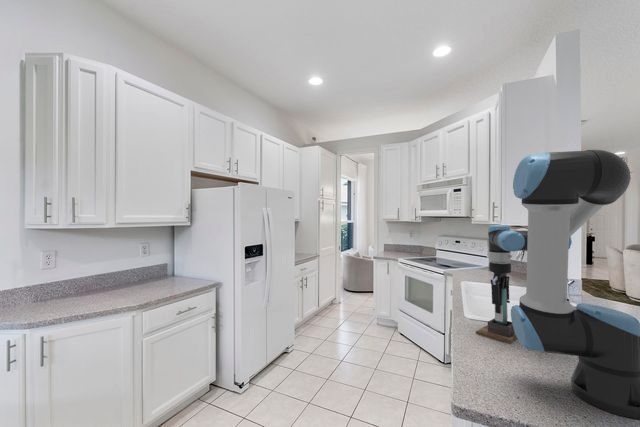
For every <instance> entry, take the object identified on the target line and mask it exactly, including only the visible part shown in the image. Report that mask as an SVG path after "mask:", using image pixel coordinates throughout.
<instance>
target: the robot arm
mask: <svg viewBox="0 0 640 427" xmlns="http://www.w3.org/2000/svg"><path fill="white" fill-rule="evenodd" d="M630 183H631V171H630V168H629V165H628V164H627V163H626V161H625V160H624V159H623V158H622V157H620V156H619V155H617V154H615V153H613V152H610V151H608V150H602V149H587V150H574V151H573V150H570V151H553V152H551V151H550V152H541V153H535V154H534V153H533V154H528V155H526V156H525V157H523V158H522V159H521V160H520V162H519V163H518V165H517V166H516V169H515V172H514V176H513V181H512V190H513V195H514V196H515V197H516V198H518V199H520V200H521V205H522V206H523V207H524V208H526V209H527V211H528V212H527V214H528V215H527V230H511V227H510V226H509V225H508V224H503V225H502V224H492V225H491V224H490V225H489V226H488V232H487V235H488V237H487V238H488V261H489V264H488V266H489V268H488V270H489V271H490V272H492V273H493V277H492V279H490V285H491V304H492V305H494V318H495V320H496V321H500V322H503V305H502V289H503V288H504V289H506V296H507V304H510V276H508V275H507V274H510V273H512V264H511V260H512V259H511V258H512V257H513V255H512V254H511V252H519V251H520V252H522V251H523V252H526V254H527V255H526V285H525V286H526V290H525V294H523V295H521V296H520V297H519V302H518V303H519V305H518V304H515V305H512V306H511V309H510V319H511V322H512V325H513V328H514V331H515V334H516V336H517V340H518V342H519V343H520V345H521V346H522V347H523V348H524V349H526V350H529V351H532V352H533V351H534V352H539V353H542V354H545V353H548V354H555V355H556V354H558V355H567V356H576V357H578V360H577V361H578V362H577V364H576V367H575V369H574V372H572V376H571V377H570V388H571V391H572V392H573V393H574V394H575V395H576V396H577V397H579V399H582V400H583V401H584V402H587V403H588V404H590V405H591V406H594V407H596V408H598V409H601V410H603V411H606V412H608V413H612V414H614V415H618V416H622V417H626V418H631V419H636V418H640V321H639V320H638V319H637V317H635V316H633V315H631V314H629V313H626V312H623V311H620V310H617V309H613V308H610V307H605V306H600V305H594V304H591V303H576V304H577V306H576V309H577V310H574V307H573V306H572V305H571V304H570V303H571V302H569V301H568V278H569V276H568V274H569V272H568V271H569V253H570V252H569V250H570V248H571V246H572V244H573V243H572V242H573V241H572V236H573V235H574V234H575V233H576V232H577V231H578V230H579V229H580V228H582V226H584V224H586V223H587V222H588V221H589V220H590V219H591V218H592V217H594V215H595V214H596V213H597V212H599V211H600V210H601V209H602V208H603V207H604V206H608V205H611V204H613V203H615V202H617V201H618V199H620V198H621V197H622V196H623V195H624V193H625V192H626V191H627V190H628V188H629V186H630ZM507 320H508V313H507Z"/></svg>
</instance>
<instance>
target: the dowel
mask: <svg viewBox="0 0 640 427" xmlns="http://www.w3.org/2000/svg"><path fill="white" fill-rule="evenodd" d="M502 305H503V322H500V321H496V323H497V324H501V325H507V321H508V319H507V314H508V303H507V296H506V289H504V288H503V289H502Z"/></svg>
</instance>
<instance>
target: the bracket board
mask: <svg viewBox="0 0 640 427" xmlns="http://www.w3.org/2000/svg"><path fill="white" fill-rule="evenodd" d="M477 334H478V335H477ZM475 335H477V336H481V337H484V338H488V339H491V340H495V341H498V342H500V343H504V344H508V345H511V344H513V342H514V341H516V340H518V338H517V336H516V334H515V331H514V328H513V325H512V321H509V320H507V325H501V324H497V323H496V320H495V317H494V318H492V319H490V320H489V321H487V324H486V325H485V326H483V327H481V328H479V329H478V330H476V331H475Z"/></svg>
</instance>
